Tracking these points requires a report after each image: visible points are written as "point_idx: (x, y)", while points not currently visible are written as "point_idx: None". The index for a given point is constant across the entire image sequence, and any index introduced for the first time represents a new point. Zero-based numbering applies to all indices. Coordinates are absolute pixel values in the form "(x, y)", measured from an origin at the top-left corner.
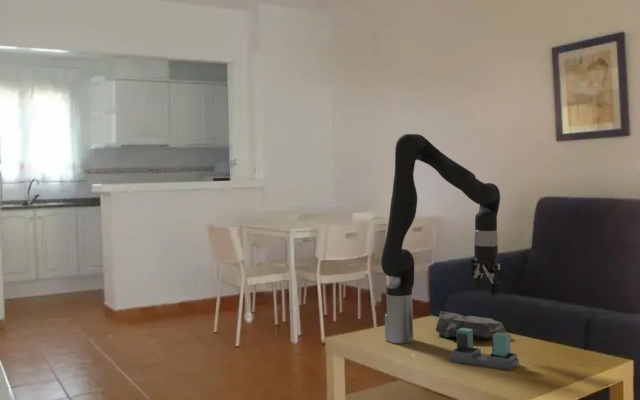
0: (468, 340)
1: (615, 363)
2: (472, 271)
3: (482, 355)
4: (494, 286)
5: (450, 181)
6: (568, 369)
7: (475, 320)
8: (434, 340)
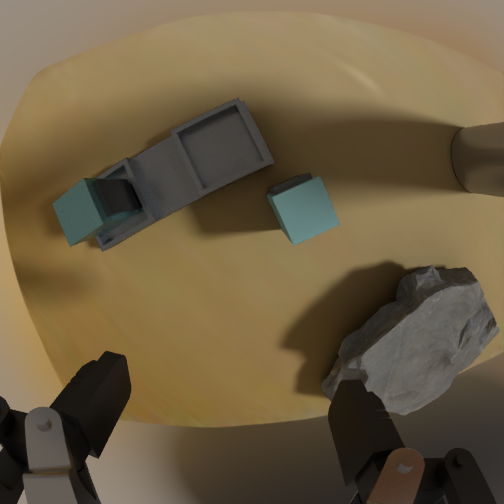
0: (271, 200)
1: None
2: (460, 495)
3: (180, 183)
4: (59, 398)
5: None
6: (56, 307)
7: (422, 378)
8: (437, 231)
